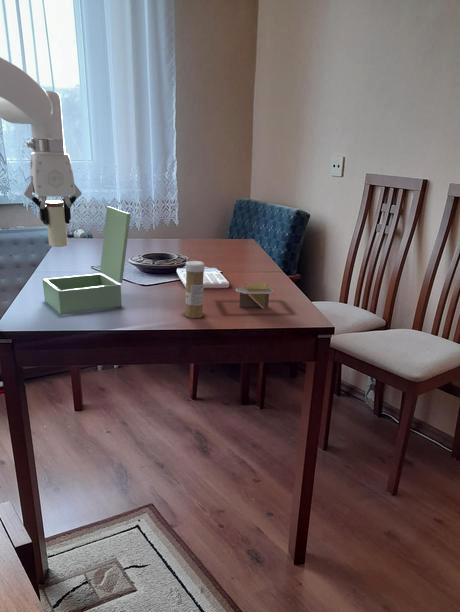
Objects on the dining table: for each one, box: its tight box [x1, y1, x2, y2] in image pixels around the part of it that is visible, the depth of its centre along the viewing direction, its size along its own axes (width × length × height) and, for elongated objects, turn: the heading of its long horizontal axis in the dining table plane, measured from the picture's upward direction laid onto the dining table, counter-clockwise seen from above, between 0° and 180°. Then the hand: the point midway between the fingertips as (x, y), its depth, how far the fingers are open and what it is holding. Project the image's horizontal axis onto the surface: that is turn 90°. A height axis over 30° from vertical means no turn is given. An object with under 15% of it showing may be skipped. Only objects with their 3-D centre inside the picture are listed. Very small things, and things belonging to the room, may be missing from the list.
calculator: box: [176, 267, 230, 289], centre depth 171 cm, size 13×20×2 cm, turn 13°
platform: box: [235, 282, 274, 310], centre depth 147 cm, size 12×18×7 cm, turn 100°
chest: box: [42, 272, 123, 315], centre depth 141 cm, size 16×13×6 cm
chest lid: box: [99, 205, 131, 284], centre depth 140 cm, size 17×13×1 cm
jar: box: [45, 200, 69, 248], centre depth 146 cm, size 5×5×11 cm
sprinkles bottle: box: [184, 260, 205, 319], centre depth 137 cm, size 5×5×14 cm
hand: (56, 222), depth 146 cm, fingers closed on jar, 4 cm apart
